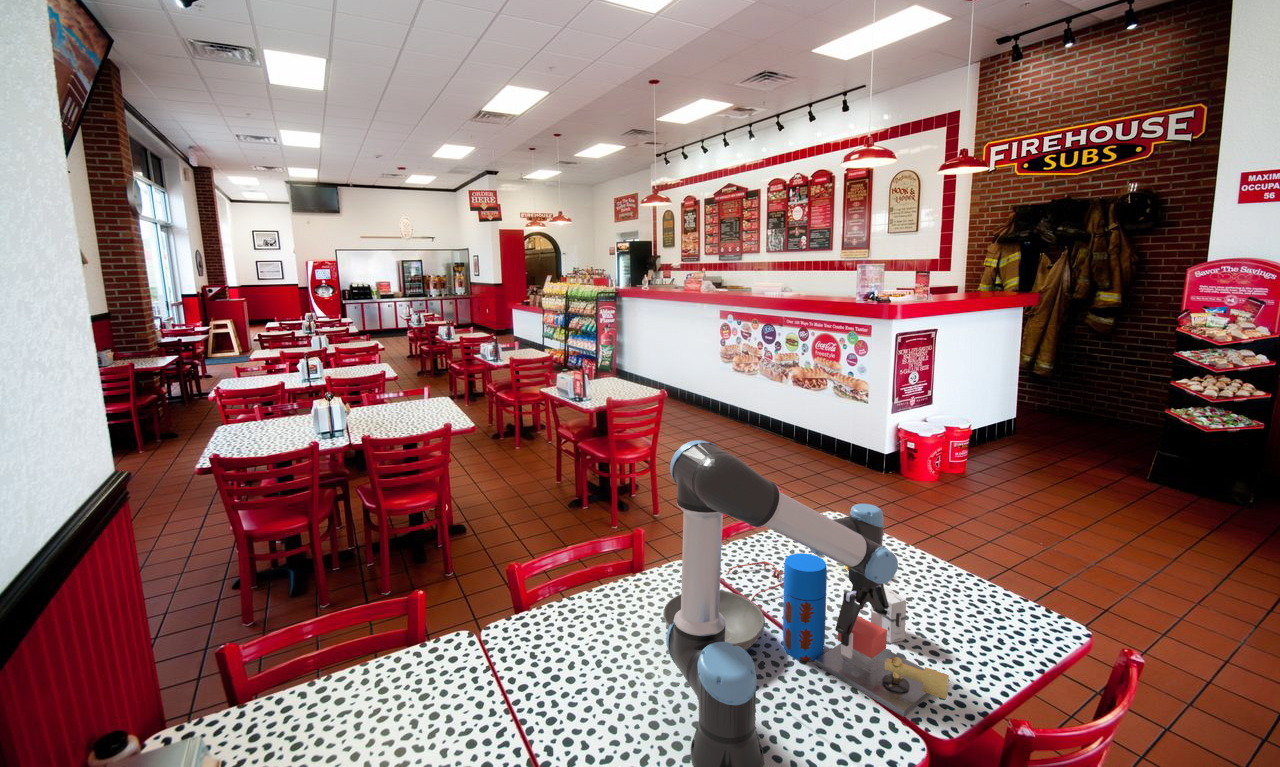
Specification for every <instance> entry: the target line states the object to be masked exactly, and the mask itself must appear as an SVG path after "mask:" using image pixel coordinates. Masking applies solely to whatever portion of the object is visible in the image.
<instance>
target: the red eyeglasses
mask: <svg viewBox="0 0 1280 767" xmlns="http://www.w3.org/2000/svg"><path fill="white" fill-rule="evenodd" d="M768 564H769V565H771V567H772V568H773V570H774V571H773V573H772V576H773V577H775V576H776V580H777V581H778V580H780V575H781V574H783V575H784V571H783V572H782V571H779V570H778V569H776V566H775V565H774V564H772V563H770V562H767V561H757V562H751V563H748V564H741V565H736V566H732V567H731V568H730V569H729V570H728V571H727V574H726V575H728V574H729V573H730V572H731V570H733V569H736V568H740V567H746V566H747V567H749V566H753V565H754V566H756V565H763V567H764V569H763V570H765V569H766V567H767V565H768ZM781 586H784V581H783V582H780V583H778V584H777V585H773V586H772V587H769V588H766V589H763V590H760V591H759V592H756V593H755V595H754V596H753V597H752V598H751V600H752V599H755V598H756V597H757V595H759V594H760V593H762V592H766V591H770V590H772V589H775V588H777V587H781Z"/></svg>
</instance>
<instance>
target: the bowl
mask: <svg viewBox="0 0 1280 767" xmlns="http://www.w3.org/2000/svg"><path fill="white" fill-rule="evenodd" d="M679 610H681V593H680V594H678V595H676V596H674V597H672V598H671V599H669V601H668V602H667V603H666V604H665V606H664V608H663V613H662V615H663V620H664V622H665V624H666V626H667V627H668V628H669V626H670V625H672V624H673V620H674V616H675V614H676V613H677V612H678V611H679ZM719 613H720V614H722V616H723V617H724V618H725V642H728V643H732V644H733V646H739V647H741V648H743V649H744V650H745V651H747V650H748V649H749V648H751V647H752V646H753V645H754V644H755V643H756V642H757V641H758V639H759V638H760V636H761V634H762V633H763V631H764V629H765V626H766V619H765V616H764V613H763V611H762V610H761V609H760V607H759V606H758V605H757V604H756V603H754V602H753V601H752V600H750V599H748V598H747V597H744V596H743V595H741V594H738V593H734V592H731V591H727V590H721V589H720V599H719Z"/></svg>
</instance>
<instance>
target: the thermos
mask: <svg viewBox="0 0 1280 767" xmlns="http://www.w3.org/2000/svg"><path fill="white" fill-rule="evenodd" d="M783 566H784V567H783V573H784V574H783V582H784V585H783V610H782V611H783V612H782V613H783V614H782V640H783V650H784V651H785V653H786V654H787V655H788V656H790V657H791V658H793V659H795V660H797V661H802V662H813V661H814V662H815V659H816V658H818V657H820V656H821V655H823V654H824V653H825V651H824V650H825V642H826V617H827V616H826V613H827V612H826V610H827V584H828V583H827V582H828V581H827V580H828V569H827V562H826V561H825V560H824V559H823V558H821V557H820V556H819V555H816V554H812V553H804V552H803V553H801V552H800V553H799V552H797V553H792V554H790V555H788V556H786V557H785V558H784V564H783Z"/></svg>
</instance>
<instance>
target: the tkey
mask: <svg viewBox="0 0 1280 767" xmlns="http://www.w3.org/2000/svg"><path fill="white" fill-rule="evenodd" d="M885 670H888V671H891V672H892V679H891V680H892V682H893V683H896V684H899V683H900V682H901V675H902V676H905V677H907V678H910V679H913V680H916V681H918V682H921V683H923V684H922V691H923V692H926V693H929V694H931V695H932V696H935V697H936V698H939V699H943V700H947V698H948V696H949V695H948V694H949V683H950V682H949V678H950V675H948V673H947V674H946V673H944V672H940V671H939V670H934V669H932V668H929V667H927V666H926V667H924V671H923V670H920V669H917V668H914V667H912V666H909V665H906V664H903V663H902V660H901V659H900V658H899V657H894V658H893V659H889V658H887V659H886V661H885ZM931 695H930V696H931Z"/></svg>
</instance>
